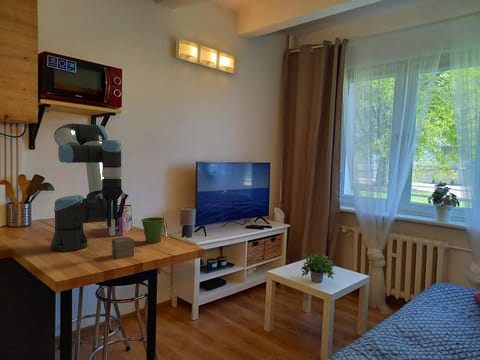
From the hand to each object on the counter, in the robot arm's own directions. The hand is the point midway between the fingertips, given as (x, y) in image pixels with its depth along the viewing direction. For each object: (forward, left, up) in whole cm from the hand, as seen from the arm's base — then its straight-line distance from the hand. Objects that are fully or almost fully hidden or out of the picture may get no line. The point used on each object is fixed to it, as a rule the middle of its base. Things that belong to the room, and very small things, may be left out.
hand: (112, 234), depth 143 cm
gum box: (-48, +18, -10) cm, 52 cm away
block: (0, +4, -3) cm, 5 cm away
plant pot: (-16, +24, -10) cm, 31 cm away
